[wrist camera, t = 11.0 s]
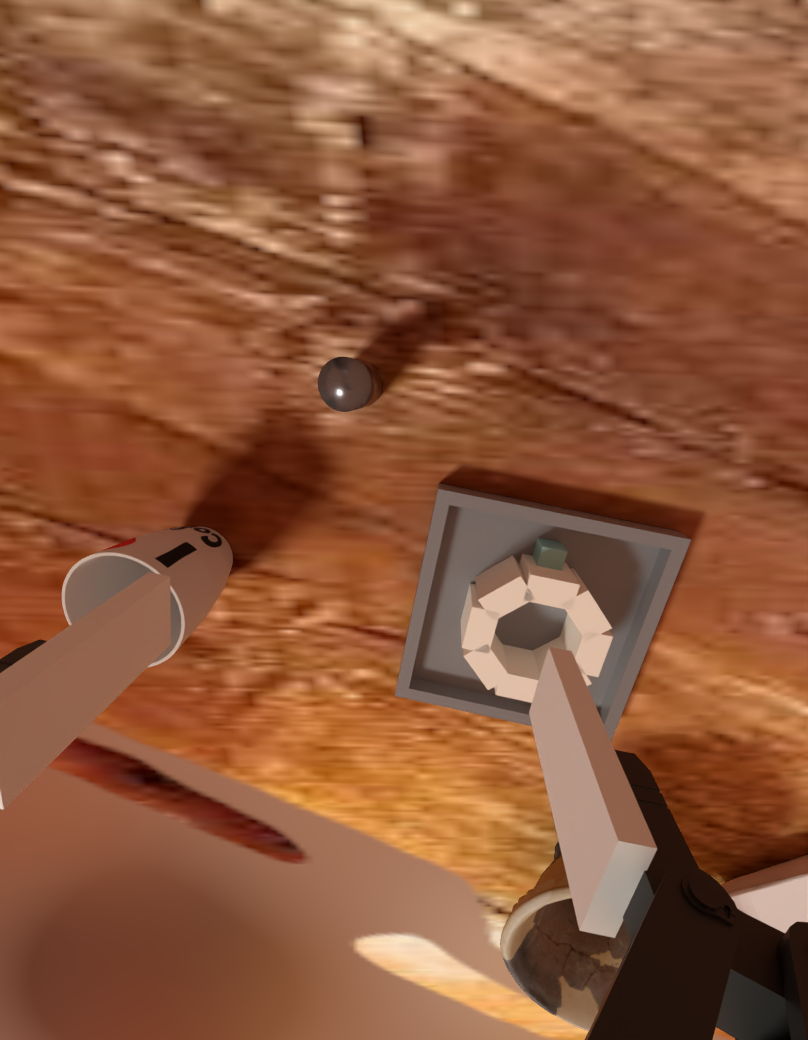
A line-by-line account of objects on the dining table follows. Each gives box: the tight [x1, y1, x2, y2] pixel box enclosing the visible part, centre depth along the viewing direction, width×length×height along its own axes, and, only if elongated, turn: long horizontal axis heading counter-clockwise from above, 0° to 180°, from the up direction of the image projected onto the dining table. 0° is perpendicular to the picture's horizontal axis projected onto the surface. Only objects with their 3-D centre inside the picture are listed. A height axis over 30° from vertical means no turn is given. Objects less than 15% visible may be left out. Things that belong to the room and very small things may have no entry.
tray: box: [395, 483, 691, 740], centre depth 36 cm, size 18×18×2 cm
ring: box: [461, 538, 613, 703], centre depth 34 cm, size 10×12×4 cm
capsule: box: [318, 357, 383, 412], centre depth 30 cm, size 3×3×6 cm
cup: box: [62, 526, 233, 667], centre depth 34 cm, size 8×8×10 cm
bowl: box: [500, 840, 631, 1031], centre depth 39 cm, size 18×18×10 cm
